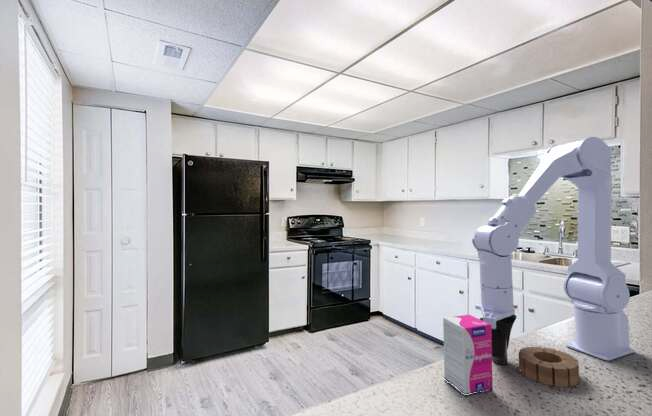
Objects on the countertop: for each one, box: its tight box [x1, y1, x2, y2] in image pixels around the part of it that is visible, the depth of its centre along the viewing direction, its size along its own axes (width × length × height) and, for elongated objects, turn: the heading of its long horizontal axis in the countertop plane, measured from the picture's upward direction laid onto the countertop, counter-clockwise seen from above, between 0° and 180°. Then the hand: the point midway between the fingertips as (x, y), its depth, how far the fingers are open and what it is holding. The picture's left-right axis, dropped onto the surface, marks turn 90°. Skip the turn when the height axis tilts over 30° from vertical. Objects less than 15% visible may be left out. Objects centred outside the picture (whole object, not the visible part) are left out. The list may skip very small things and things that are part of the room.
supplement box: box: [442, 314, 494, 394], centre depth 57 cm, size 6×6×12 cm
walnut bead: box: [518, 346, 580, 388], centre depth 60 cm, size 9×9×3 cm
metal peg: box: [492, 340, 509, 365], centre depth 65 cm, size 3×3×6 cm
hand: (499, 353), depth 65 cm, fingers closed on metal peg, 3 cm apart
